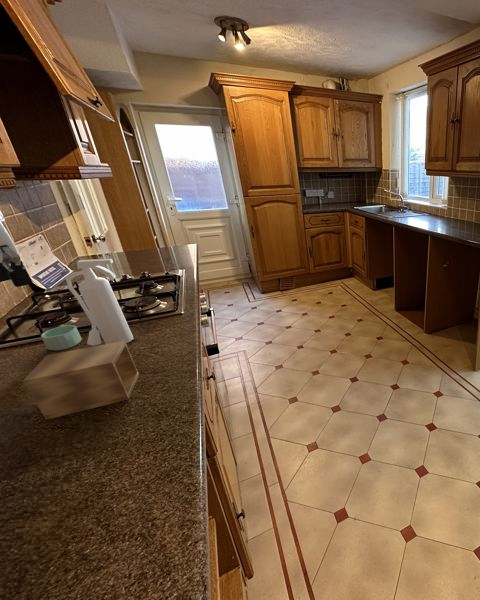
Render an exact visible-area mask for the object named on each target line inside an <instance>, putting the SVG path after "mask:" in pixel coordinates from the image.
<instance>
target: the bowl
mask: <svg viewBox="0 0 480 600" xmlns="http://www.w3.org/2000/svg"><path fill="white" fill-rule="evenodd" d="M40 337H41V339H42V341H43V343H44V345H45V347H46V349H47V350H49V351H53V352H54V351H63V350H67V349H70V348H73V347H76V346H77V345H78V344H80V342H81V341H82V339H83V338H82V336H81V334H80V332H79V330H78V327H77V326H76V325H75V324H66V325H60V326H58V327H53V328H50V329H48V330H46V331H44V332H42V333H41V334H40Z"/></svg>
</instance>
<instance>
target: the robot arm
mask: <svg viewBox="0 0 480 600" xmlns="http://www.w3.org/2000/svg"><path fill="white" fill-rule="evenodd" d="M5 221H6V219H5V217H4V215H3V213H2V211H1V210H0V283H2V282H6V281H11V282H12V284H13V285H14V287H16V288H20V287H24V286H29V285H32V284H33V280H32V278H31V276H30V274H29V272H28V270H27V268H26V266H25V264H24V262H23V261H22V260H21V259H22V256H21V254H20V252H19V250H18V248H17V246H16V244H15V242H14V240H13V239H12V237H11V235H10V234H9V232H8V230H7V229H6V227H5V226H4V224H3V223H2V222H5Z"/></svg>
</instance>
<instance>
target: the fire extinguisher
mask: <svg viewBox="0 0 480 600" xmlns="http://www.w3.org/2000/svg"><path fill="white" fill-rule="evenodd" d="M113 263H114V261H113V258H96V259H80V260H79V259H78V260H77V261H76V268H77V270H79V269H81V270H80V271H74V272H72V273H70V274H69V275H68V276H67V277H65V283H66V286H67V289H68V290H69V292H70V293H71V294H72V295H73V296H74V297H75V299H76V300H77V302H78V304H79V305H80V307H81V309H82V310H83V312H84V313H85V316H86V317H87V319H88V320H89V322H90V323H91V330H89V331H88V336H87V342H86V345H90V346H92V347H93V346H99V345H103V344H102V340H103V341H104V344H109V343H115V342H120V341H125V342H126V344H128V343H130V342H131V341H132V340H134V336H133V333H132V331H131V328H130V326H129V324H128V321H127V320H126V317H125V315H124V313H123V311H122V308H121V306H120V304H119V302H118V299H117V297H116V295H115V292H114V291H113V288H112V286H111V284H110V281H111V282H112V281H114V280H115V279H116V278H117V276H116V275H115V273H114V272H113V271H112V270H110V269H108V268H106V267H105V266H104V265H111V264H112V265H113ZM94 270H95V271H97V272H99V273H101V274H103V275H105V276H106V277H107V278H108V279H109V280H110V281H109V280H108V279H106V278H105V277H100V276H99V277H98V276H97V275H96V273H95V272H94ZM82 275H83V280H82V281H81V282H79V284H78V290H79V293H80V294H79V293H78V292H77V291H76V289H75V288H74V286H73V283H72V279H74V278H75V277H77V276H82ZM101 337H102V339H101Z"/></svg>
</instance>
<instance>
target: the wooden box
mask: <svg viewBox="0 0 480 600" xmlns="http://www.w3.org/2000/svg"><path fill="white" fill-rule="evenodd" d="M139 376H140V373H139V370H138V368H137V366H136V363H135V361H134V358H133V356H132V354H131V351H130V349H129V347H128V343H126V342H125V341H120V342H115V343H109V344H105V343H104V344H98V345H94V346H93V345H92V346H89V347H84V348H77V349H73V350H67V351H62V352H57V353H51V354H46V355H45V356H44V357H43V358H42V360H41V361H40V362H39V363H38V364H37V365H36V366H35V367H34V368H33V370H31V371H30V372H29V374H27V376H26V377H25V378H24V379H23V380H22V383H23V385H24V386H25V387H26V389H27V391H28V392H29V394H30V396H31V398H32V399H33V400H34V402H35V404H36V406H37V407H38V409H39V410H40V412H41V414H42V416H43V418H44V419H45V420H52V419H54V418H55V419H56V418H59V417H63V416H68V415H72V414H76V413H79V412H83V411H88V410H92V409H95V408H100V407H105V406H107V405H112V404H116V403H120V402H124V401H128V400H130V399H131V398H130V397H131V396H132V394H133V391H134V388H135V385H136V384H137V381H138V379H139Z"/></svg>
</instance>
